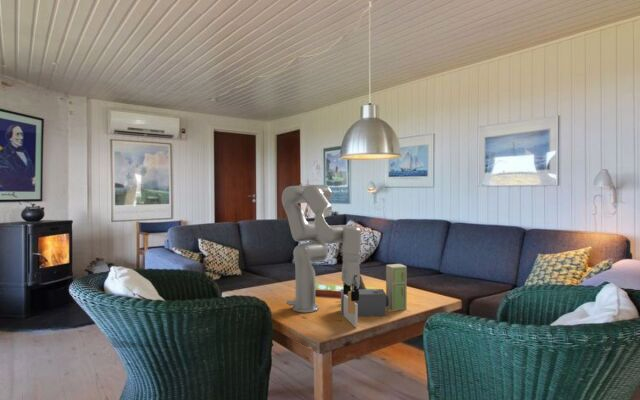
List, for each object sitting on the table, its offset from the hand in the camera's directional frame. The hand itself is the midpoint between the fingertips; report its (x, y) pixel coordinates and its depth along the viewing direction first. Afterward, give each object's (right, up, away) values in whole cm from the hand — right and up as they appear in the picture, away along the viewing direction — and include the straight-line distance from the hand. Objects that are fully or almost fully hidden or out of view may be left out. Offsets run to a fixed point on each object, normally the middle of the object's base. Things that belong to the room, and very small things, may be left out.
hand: (350, 297), depth 168 cm
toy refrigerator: (+24, -12, +26) cm, 37 cm away
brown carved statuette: (+9, -12, +37) cm, 39 cm away
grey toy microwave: (+7, -12, +19) cm, 23 cm away
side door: (-1, -12, +6) cm, 13 cm away
